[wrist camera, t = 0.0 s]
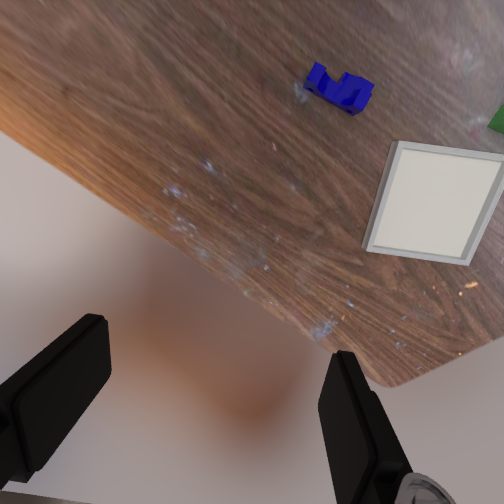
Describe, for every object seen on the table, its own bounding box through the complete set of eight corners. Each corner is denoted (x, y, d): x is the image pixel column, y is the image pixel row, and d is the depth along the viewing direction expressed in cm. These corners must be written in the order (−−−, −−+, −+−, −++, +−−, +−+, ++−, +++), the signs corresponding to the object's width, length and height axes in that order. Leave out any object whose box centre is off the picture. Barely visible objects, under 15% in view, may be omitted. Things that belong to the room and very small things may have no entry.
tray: (391, 141, 36) (399, 140, 34) (504, 156, 36) (518, 156, 34) (361, 246, 41) (366, 251, 39) (458, 260, 41) (468, 265, 39)
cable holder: (367, 90, 34) (379, 81, 31) (352, 116, 35) (362, 110, 32) (316, 60, 34) (322, 47, 30) (303, 88, 35) (307, 79, 31)
